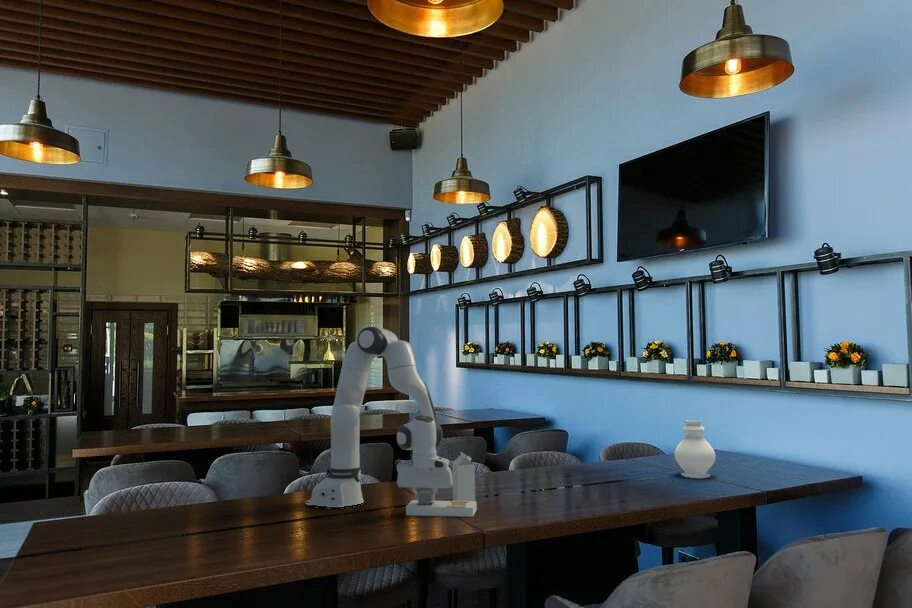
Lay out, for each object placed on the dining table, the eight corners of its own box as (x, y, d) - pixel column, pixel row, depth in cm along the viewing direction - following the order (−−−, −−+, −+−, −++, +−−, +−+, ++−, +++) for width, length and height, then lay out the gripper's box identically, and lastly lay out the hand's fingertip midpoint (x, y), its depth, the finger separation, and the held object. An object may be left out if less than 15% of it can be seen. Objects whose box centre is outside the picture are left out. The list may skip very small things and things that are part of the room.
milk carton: (457, 505, 253) (456, 455, 254) (452, 501, 259) (452, 452, 261) (475, 504, 254) (474, 454, 256) (470, 500, 261) (469, 451, 263)
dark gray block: (418, 512, 237) (418, 493, 238) (420, 510, 241) (420, 490, 242) (429, 513, 237) (429, 493, 237) (431, 510, 241) (431, 490, 241)
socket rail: (406, 517, 235) (406, 505, 235) (412, 511, 245) (412, 499, 245) (472, 519, 231) (472, 507, 232) (476, 512, 241) (476, 500, 241)
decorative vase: (667, 473, 309) (665, 419, 311) (699, 471, 314) (697, 418, 316) (691, 480, 292) (689, 423, 294) (725, 477, 297) (722, 421, 299)
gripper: (394, 462, 239) (394, 501, 238) (450, 463, 236) (450, 502, 235) (399, 459, 245) (399, 497, 244) (453, 460, 242) (453, 498, 241)
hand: (425, 500), depth 239 cm, fingers closed on dark gray block, 4 cm apart
